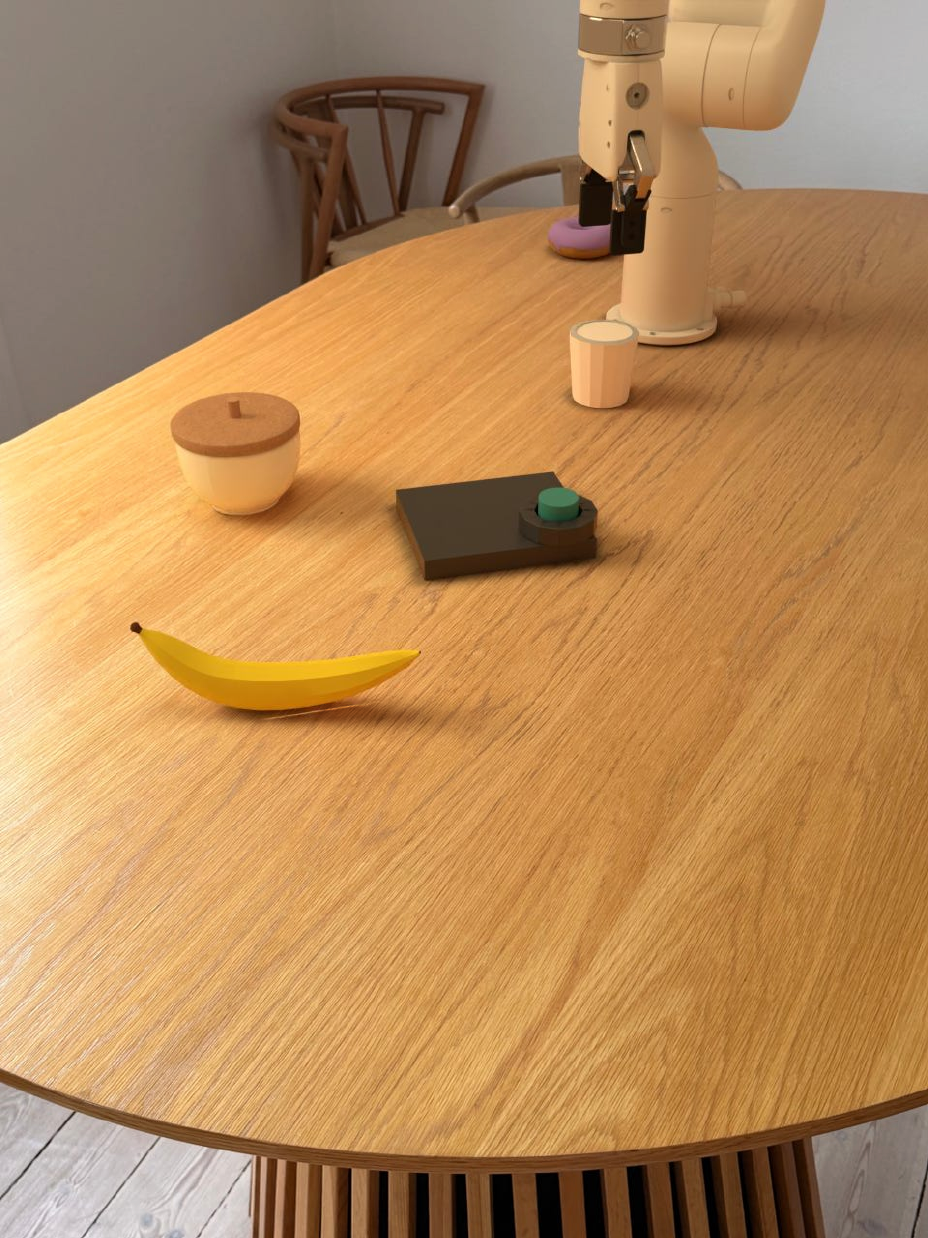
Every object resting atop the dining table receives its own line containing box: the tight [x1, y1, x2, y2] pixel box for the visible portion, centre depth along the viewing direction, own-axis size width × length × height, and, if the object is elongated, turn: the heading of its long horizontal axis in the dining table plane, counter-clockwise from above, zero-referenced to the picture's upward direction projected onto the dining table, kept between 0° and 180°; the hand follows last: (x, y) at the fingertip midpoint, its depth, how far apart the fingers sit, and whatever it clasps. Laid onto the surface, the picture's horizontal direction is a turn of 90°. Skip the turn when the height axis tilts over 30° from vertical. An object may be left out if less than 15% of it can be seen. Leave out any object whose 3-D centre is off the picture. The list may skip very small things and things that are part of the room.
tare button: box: [538, 487, 580, 522], centre depth 97 cm, size 3×3×2 cm
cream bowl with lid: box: [170, 391, 301, 516], centre depth 103 cm, size 11×11×9 cm
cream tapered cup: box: [569, 319, 639, 409], centre depth 121 cm, size 7×7×7 cm
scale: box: [395, 470, 599, 582], centre depth 100 cm, size 15×12×4 cm
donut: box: [547, 215, 611, 260], centre depth 162 cm, size 10×9×5 cm
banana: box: [129, 621, 422, 711], centre depth 80 cm, size 3×19×6 cm, turn 86°
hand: (610, 238), depth 114 cm, fingers open, 8 cm apart
